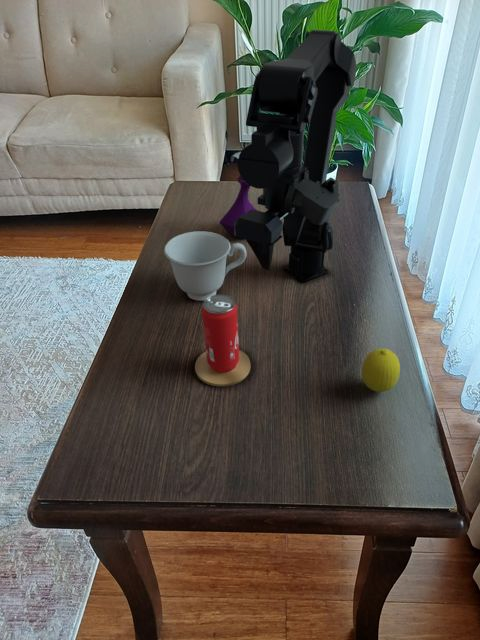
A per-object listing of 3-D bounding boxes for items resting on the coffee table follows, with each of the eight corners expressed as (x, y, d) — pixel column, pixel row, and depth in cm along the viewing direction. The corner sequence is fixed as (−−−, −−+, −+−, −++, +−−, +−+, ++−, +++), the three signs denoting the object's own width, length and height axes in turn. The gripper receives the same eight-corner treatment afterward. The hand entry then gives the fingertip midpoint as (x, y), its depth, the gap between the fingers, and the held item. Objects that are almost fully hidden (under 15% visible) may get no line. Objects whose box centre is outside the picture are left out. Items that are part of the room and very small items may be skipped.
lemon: (395, 404, 78) (404, 365, 73) (357, 399, 79) (364, 360, 74) (395, 379, 82) (404, 341, 77) (360, 375, 83) (366, 336, 78)
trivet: (231, 342, 90) (231, 339, 89) (261, 372, 84) (261, 369, 84) (185, 362, 86) (185, 359, 85) (213, 395, 80) (212, 392, 80)
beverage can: (213, 351, 87) (207, 291, 79) (243, 355, 86) (240, 295, 78) (203, 372, 83) (196, 311, 75) (234, 376, 82) (231, 316, 74)
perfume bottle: (265, 230, 120) (265, 151, 108) (247, 244, 115) (245, 163, 103) (238, 222, 123) (235, 144, 111) (219, 235, 118) (214, 156, 106)
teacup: (251, 305, 98) (250, 259, 91) (171, 314, 96) (164, 267, 89) (243, 271, 107) (241, 227, 100) (169, 278, 105) (163, 233, 98)
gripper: (304, 197, 66) (298, 298, 76) (358, 152, 79) (347, 244, 89) (230, 180, 71) (234, 278, 81) (293, 140, 83) (289, 229, 93)
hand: (280, 257), depth 86 cm, fingers open, 9 cm apart
